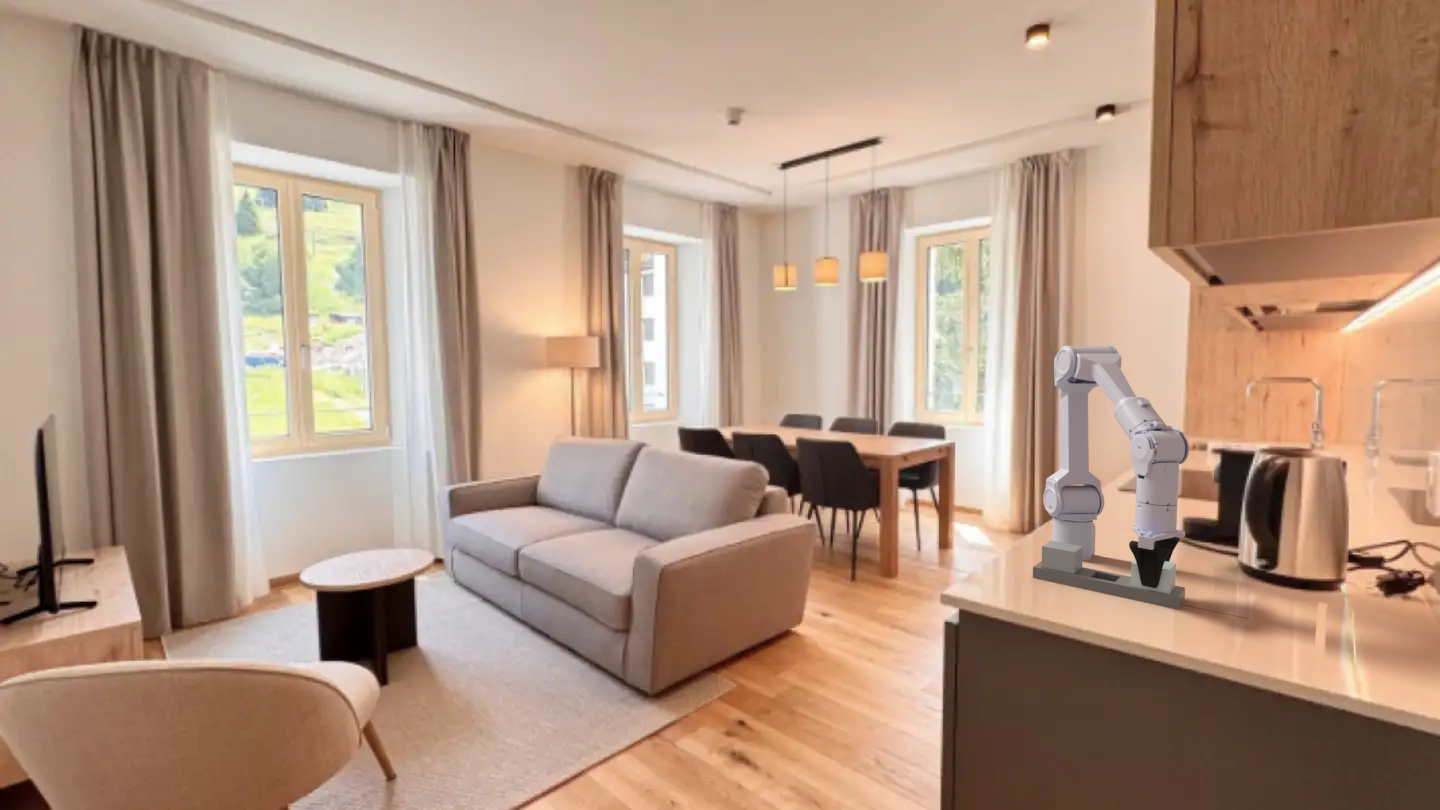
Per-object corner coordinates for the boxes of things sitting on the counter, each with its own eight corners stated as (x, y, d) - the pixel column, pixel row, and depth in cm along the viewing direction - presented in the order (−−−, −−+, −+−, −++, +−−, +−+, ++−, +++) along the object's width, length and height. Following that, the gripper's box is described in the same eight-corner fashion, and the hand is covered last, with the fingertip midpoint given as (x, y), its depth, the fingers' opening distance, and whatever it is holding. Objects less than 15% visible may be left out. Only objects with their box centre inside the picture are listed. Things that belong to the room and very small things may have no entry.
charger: (1136, 590, 110) (1138, 556, 110) (1174, 598, 107) (1176, 562, 106) (1130, 597, 107) (1131, 562, 107) (1169, 606, 103) (1170, 570, 103)
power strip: (1043, 574, 122) (1044, 538, 121) (1250, 619, 100) (1252, 575, 100) (1032, 582, 117) (1033, 545, 117) (1246, 630, 96) (1248, 585, 96)
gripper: (1177, 513, 98) (1173, 600, 99) (1193, 498, 108) (1189, 577, 109) (1124, 506, 103) (1121, 588, 104) (1144, 492, 113) (1141, 567, 114)
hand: (1153, 582), depth 107 cm, fingers closed on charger, 5 cm apart
